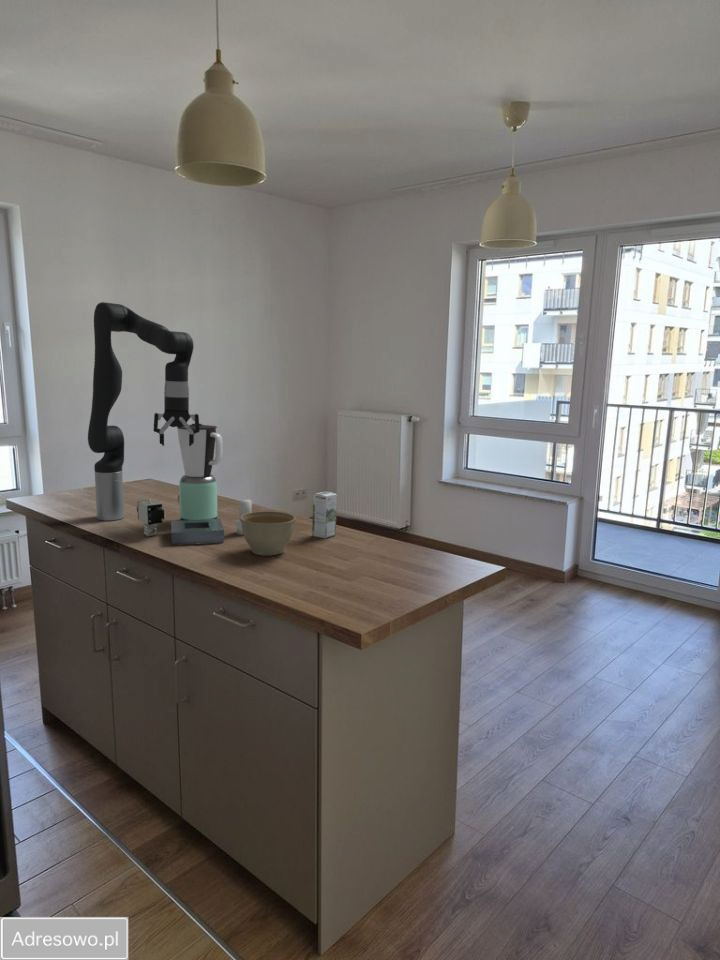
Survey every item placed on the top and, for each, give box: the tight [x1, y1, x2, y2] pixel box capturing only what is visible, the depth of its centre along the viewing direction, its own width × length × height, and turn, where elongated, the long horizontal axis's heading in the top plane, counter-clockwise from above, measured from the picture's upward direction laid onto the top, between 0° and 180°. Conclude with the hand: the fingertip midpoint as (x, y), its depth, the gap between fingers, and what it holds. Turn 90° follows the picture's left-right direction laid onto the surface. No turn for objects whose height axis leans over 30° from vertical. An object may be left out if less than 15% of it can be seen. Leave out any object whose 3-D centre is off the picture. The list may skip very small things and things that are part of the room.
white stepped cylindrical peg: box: [235, 499, 253, 536], centre depth 215 cm, size 6×6×11 cm
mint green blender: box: [176, 423, 224, 520], centre depth 226 cm, size 19×13×35 cm
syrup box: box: [311, 491, 338, 539], centre depth 213 cm, size 6×6×14 cm
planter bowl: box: [241, 510, 296, 557], centre depth 194 cm, size 16×16×11 cm
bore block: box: [170, 518, 225, 546], centre depth 208 cm, size 16×16×4 cm
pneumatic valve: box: [136, 498, 165, 538], centre depth 209 cm, size 6×12×12 cm, turn 40°
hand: (176, 445), depth 209 cm, fingers open, 8 cm apart
